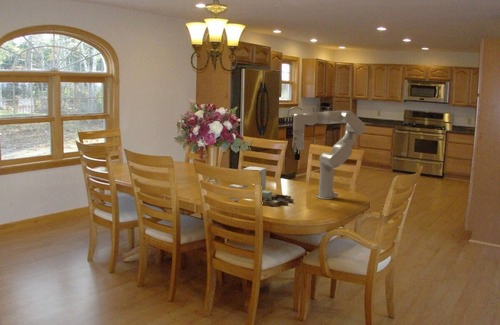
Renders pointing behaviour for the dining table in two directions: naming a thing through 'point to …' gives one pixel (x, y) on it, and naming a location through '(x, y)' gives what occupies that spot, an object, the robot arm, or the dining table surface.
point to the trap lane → (278, 200)
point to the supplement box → (263, 176)
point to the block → (267, 194)
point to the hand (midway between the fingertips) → (297, 159)
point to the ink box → (235, 187)
